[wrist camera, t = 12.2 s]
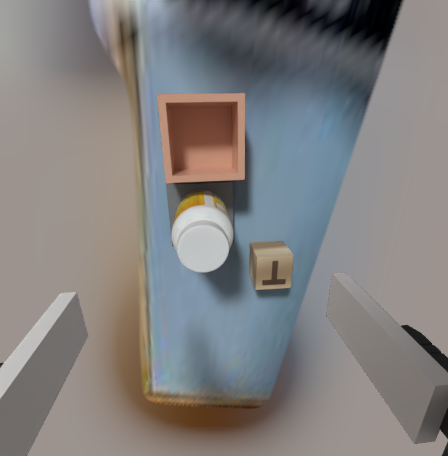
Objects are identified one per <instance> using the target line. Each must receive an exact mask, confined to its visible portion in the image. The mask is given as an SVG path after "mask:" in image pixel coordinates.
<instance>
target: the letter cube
mask: <svg viewBox="0 0 448 456" xmlns="http://www.w3.org/2000/svg"><path fill="white" fill-rule="evenodd" d="M293 260H294V255H293V254H292V253H291V251H290V250H289V249H288V247H287V246H286V245H285V244H284V242H283V241H276V242H254V243H250V257H249V274H250V276H251V279H252V282H253V284H254V287H255V290H263V289H280V288H291V280H292V270H293Z"/></svg>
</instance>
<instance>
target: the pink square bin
mask: <svg viewBox="0 0 448 456" xmlns="http://www.w3.org/2000/svg"><path fill="white" fill-rule="evenodd" d="M157 98H158V108H159V118H160V128H161V138H162V148H163V158H164V168H165V178H166V183H179V182H203V181H226V180H245V93H221V94H157Z"/></svg>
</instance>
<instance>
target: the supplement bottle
mask: <svg viewBox="0 0 448 456" xmlns="http://www.w3.org/2000/svg"><path fill="white" fill-rule="evenodd" d="M233 235H234V234H233V227H232V224H231V221H230V218H229V215H228V212H227V210H226V207H225V204H224V202H223V201H222V200H221V198H220V197H219V196H218V195H216V194H215V193H213V192H210V191H207V190H197V191H194V192H191V193H189V194H188V195H186V196H185V197H184V198H183V199H182V200H181V201H180V203H179V205H178V208H177V212H176V216H175V220H174V223H173V227H172V242H173V245H174V248H175V249H176V251H177V253H178V257H179V259H180V261H181V262H182V264H183V265H184V266H185V267H187V268H188V269H190V270H192V271H195V272H202V273H203V272H210V271H213V270H215V269H217V268H219V267H220V266H221V265H222V264H223V263H224V262H225V260H226V258H227V256H228V253H229V249H230V247H231V245H232V242H233Z"/></svg>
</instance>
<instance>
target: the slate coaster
mask: <svg viewBox="0 0 448 456" xmlns="http://www.w3.org/2000/svg"><path fill="white" fill-rule="evenodd" d="M166 187H167V197H168V207H169V217H170V227H171V237H172V227H173V223H174V220H175V216H176V212H177V208H178V205H179V203H180V201H181V200H182V199H183V198H184V197H185V196H186V195H188V194H189V193H191V192H194V191H197V190H207V191H210V192H213V193H215V194H216V195H218V196H219V197H220V198H221V200H222V201H223V202H224V204H225V207H226V210H227V212H228V215H229V218H230V221H231V224H232V227H233V181H221V182H198V183H174V184H167V185H166ZM233 234H234V228H233ZM233 242H234V235H233ZM172 246H174V245H173V242H172Z"/></svg>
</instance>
